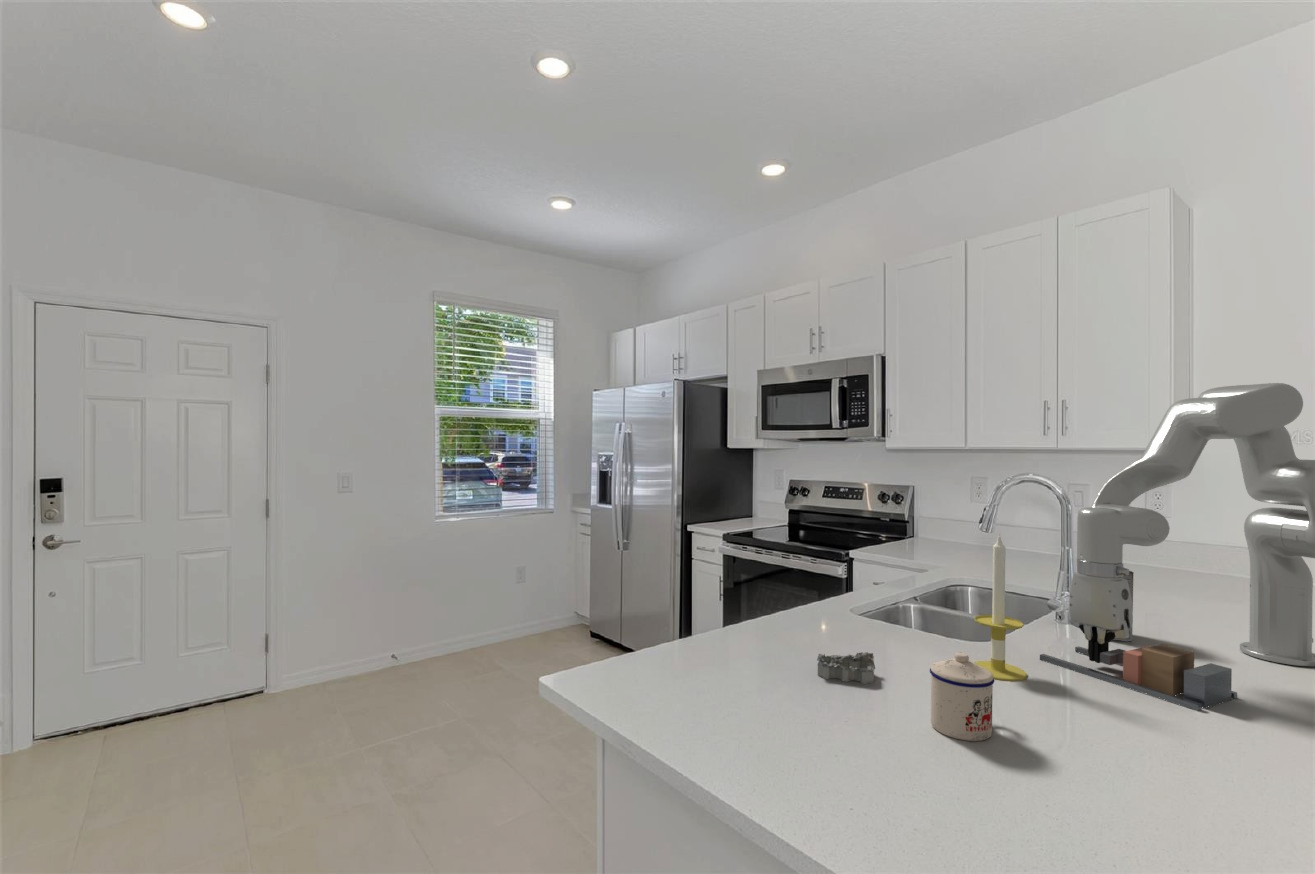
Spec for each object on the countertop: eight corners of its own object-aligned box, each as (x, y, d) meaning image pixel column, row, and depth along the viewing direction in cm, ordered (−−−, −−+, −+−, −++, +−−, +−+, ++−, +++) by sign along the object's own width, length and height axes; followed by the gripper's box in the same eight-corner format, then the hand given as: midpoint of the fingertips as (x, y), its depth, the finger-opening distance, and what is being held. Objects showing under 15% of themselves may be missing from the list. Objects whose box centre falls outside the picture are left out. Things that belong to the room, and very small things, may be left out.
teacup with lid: (975, 749, 92) (976, 669, 92) (917, 725, 100) (918, 651, 100) (1013, 727, 99) (1014, 653, 99) (956, 707, 107) (957, 638, 107)
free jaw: (1122, 665, 127) (1122, 638, 127) (1164, 678, 120) (1165, 649, 120) (1095, 672, 123) (1096, 644, 123) (1137, 685, 117) (1138, 656, 117)
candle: (969, 675, 121) (971, 535, 122) (968, 659, 130) (970, 528, 131) (1029, 684, 117) (1031, 539, 117) (1024, 667, 126) (1026, 532, 126)
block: (1162, 680, 120) (1162, 644, 120) (1193, 690, 116) (1194, 652, 116) (1141, 686, 117) (1141, 648, 117) (1172, 696, 113) (1173, 657, 113)
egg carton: (875, 674, 122) (876, 652, 122) (874, 688, 115) (874, 665, 115) (819, 665, 126) (819, 645, 126) (814, 678, 119) (814, 657, 119)
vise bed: (1078, 651, 137) (1078, 625, 137) (1237, 698, 112) (1237, 667, 112) (1039, 659, 131) (1040, 632, 131) (1198, 711, 106) (1198, 678, 107)
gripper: (1152, 575, 122) (1151, 670, 122) (1072, 561, 135) (1071, 647, 135) (1129, 578, 119) (1128, 676, 119) (1050, 564, 132) (1049, 652, 132)
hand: (1098, 660), depth 127 cm, fingers closed
